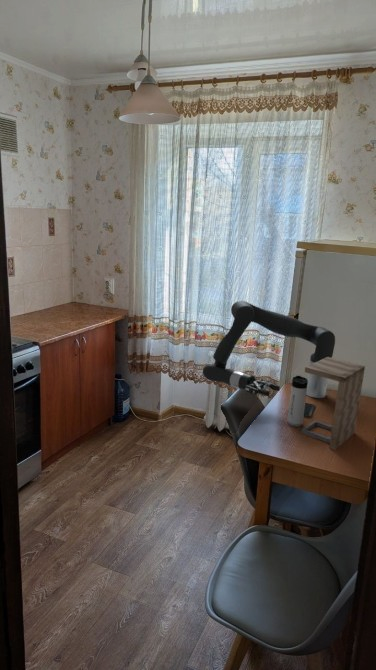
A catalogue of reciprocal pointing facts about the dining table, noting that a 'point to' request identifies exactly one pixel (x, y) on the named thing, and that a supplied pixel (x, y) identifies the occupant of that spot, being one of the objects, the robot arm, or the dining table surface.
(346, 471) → the dining table surface
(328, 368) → the overhang shelf
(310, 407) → the phone
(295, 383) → the travel mug
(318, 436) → the seat frame
